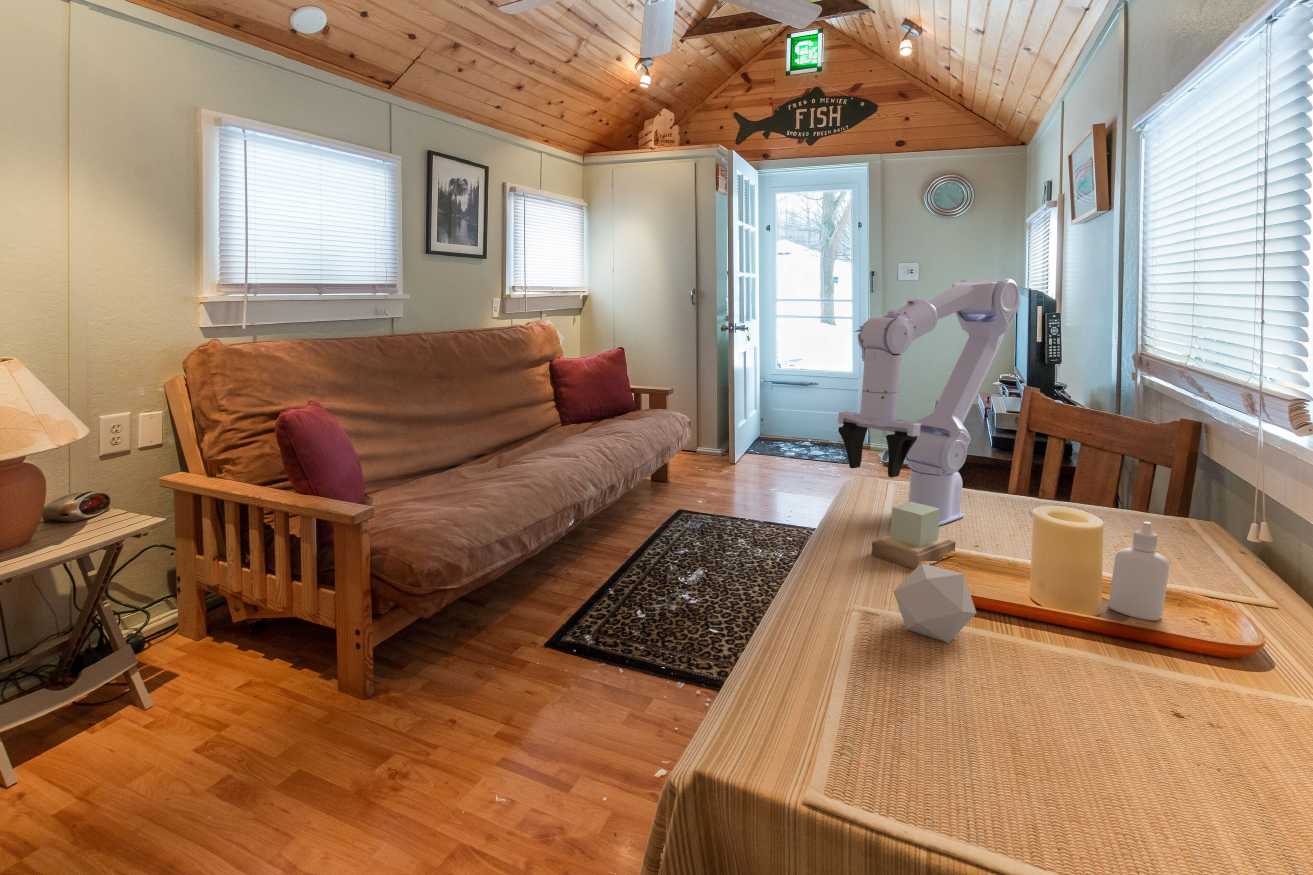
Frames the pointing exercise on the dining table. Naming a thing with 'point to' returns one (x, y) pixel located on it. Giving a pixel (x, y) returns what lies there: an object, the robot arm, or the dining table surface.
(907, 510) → the sage block
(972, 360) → the robot arm
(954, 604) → the die
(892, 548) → the plinth
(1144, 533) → the eye dropper bottle
